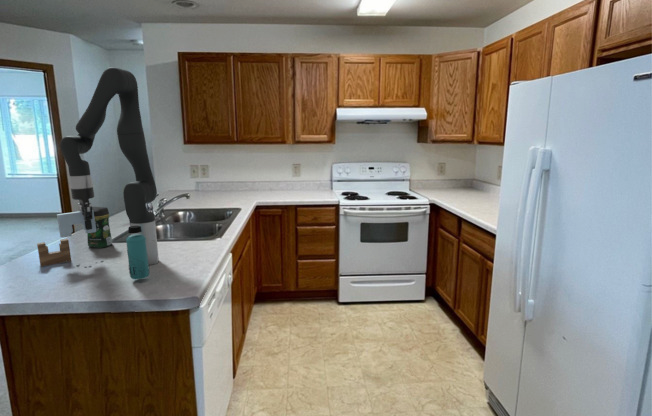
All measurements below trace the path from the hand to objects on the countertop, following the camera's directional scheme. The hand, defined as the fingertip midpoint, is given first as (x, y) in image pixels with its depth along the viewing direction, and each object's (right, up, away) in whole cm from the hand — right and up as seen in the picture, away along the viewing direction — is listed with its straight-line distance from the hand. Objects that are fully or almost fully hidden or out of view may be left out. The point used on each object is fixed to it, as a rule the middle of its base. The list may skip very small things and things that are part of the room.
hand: (88, 228), depth 153 cm
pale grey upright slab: (-2, -2, -2) cm, 4 cm away
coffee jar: (-8, -9, +21) cm, 25 cm away
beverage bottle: (+31, -18, -19) cm, 40 cm away
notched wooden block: (-12, -14, -1) cm, 18 cm away
